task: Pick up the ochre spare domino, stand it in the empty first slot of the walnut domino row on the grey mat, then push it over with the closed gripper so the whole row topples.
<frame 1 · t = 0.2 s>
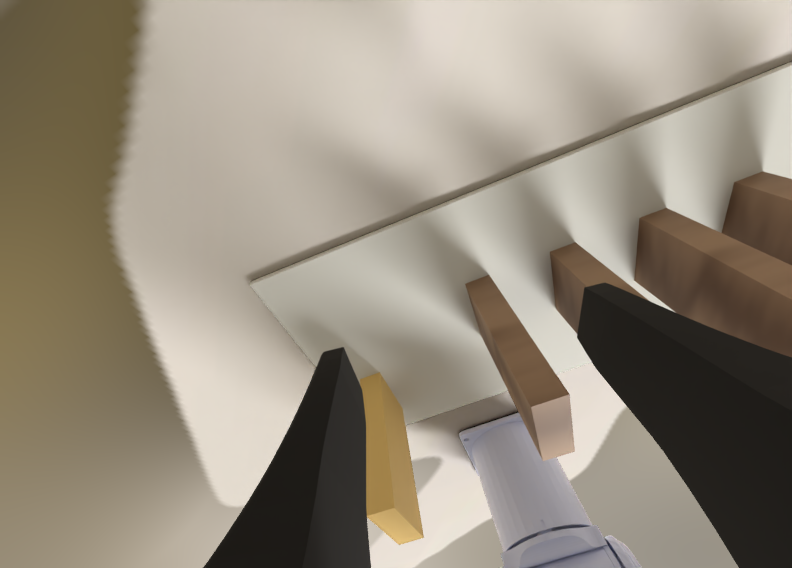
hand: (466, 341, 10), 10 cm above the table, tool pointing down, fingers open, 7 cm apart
domino 4: (649, 246, 21), resting on mat
mat: (541, 293, 23), on the table
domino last: (738, 214, 20), resting on mat
domino 2: (484, 307, 22), resting on mat
domino 3: (564, 277, 22), resting on mat
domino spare: (382, 394, 26), resting on mat
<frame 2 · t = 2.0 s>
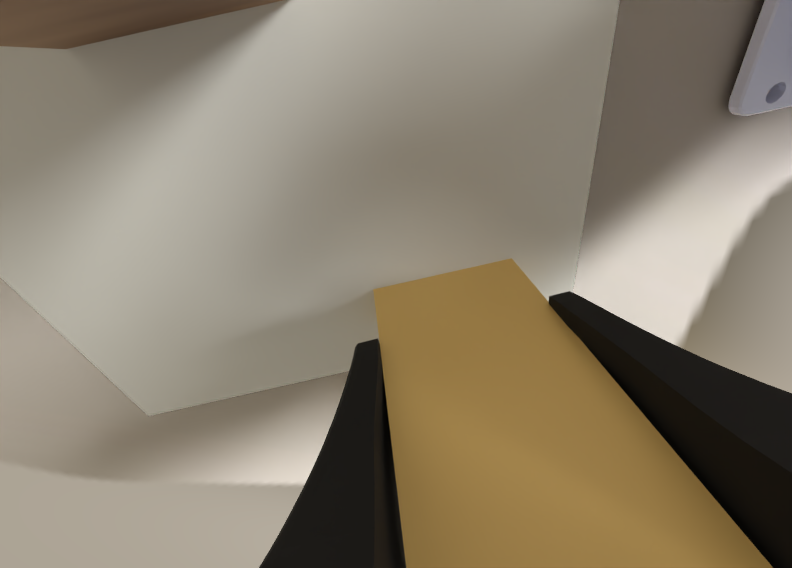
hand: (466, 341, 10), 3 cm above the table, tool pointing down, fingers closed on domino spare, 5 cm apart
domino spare: (444, 291, 12), resting on mat, touching gripper
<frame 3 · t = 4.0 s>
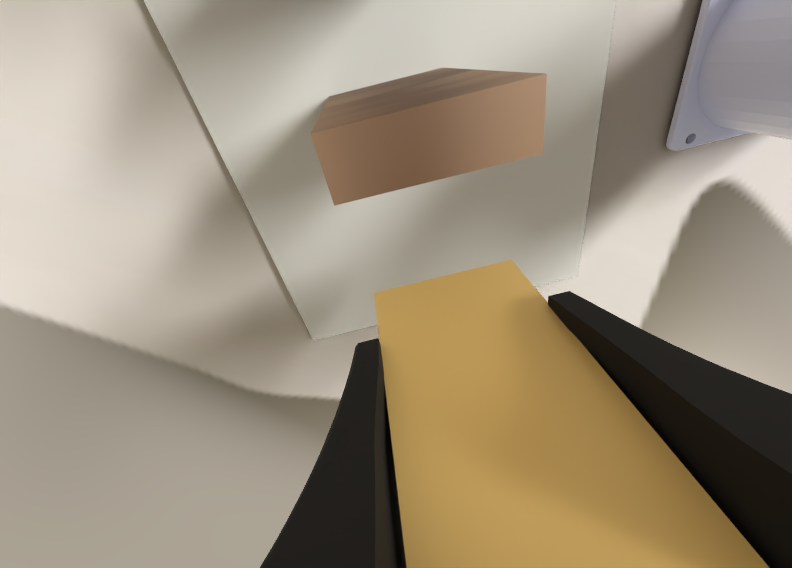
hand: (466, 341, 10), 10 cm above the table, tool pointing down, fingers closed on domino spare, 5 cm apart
domino 2: (389, 102, 15), resting on mat
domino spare: (445, 293, 12), point 7 cm above the table, touching gripper
when the fingers open (4 cm above the table, at t = 6.0 s): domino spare stays where it is, resting on mat.
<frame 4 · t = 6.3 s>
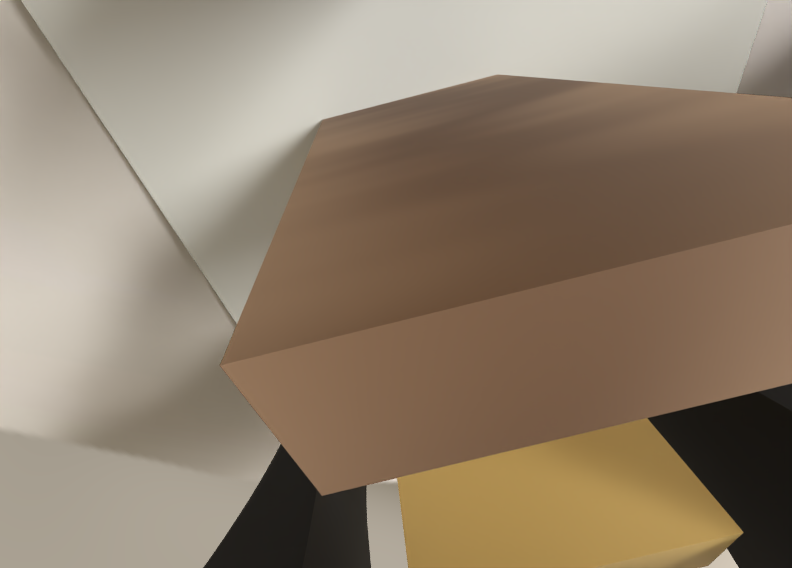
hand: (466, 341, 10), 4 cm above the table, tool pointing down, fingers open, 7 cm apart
domino 2: (414, 127, 10), resting on mat
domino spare: (440, 281, 13), resting on mat
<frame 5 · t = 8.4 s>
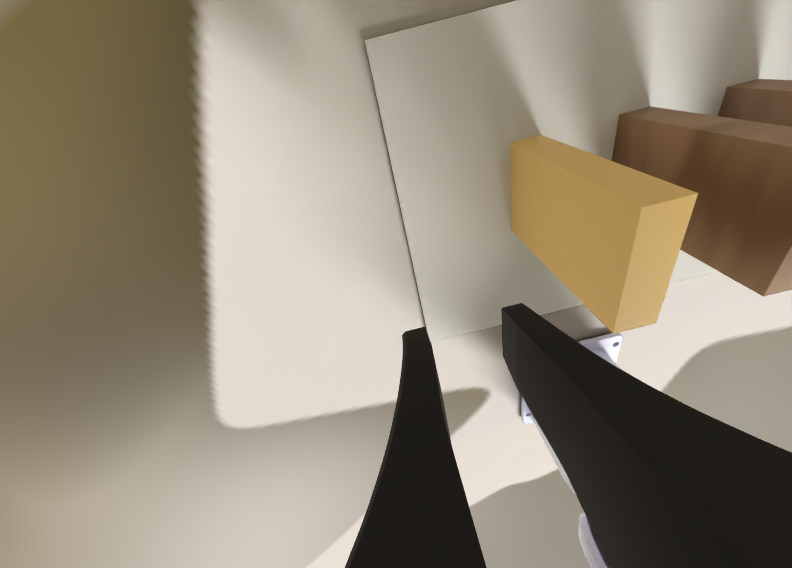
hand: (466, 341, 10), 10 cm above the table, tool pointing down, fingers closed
mat: (685, 159, 19), on the table
domino 2: (625, 160, 18), resting on mat
domino 3: (724, 135, 18), resting on mat
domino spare: (525, 186, 18), resting on mat
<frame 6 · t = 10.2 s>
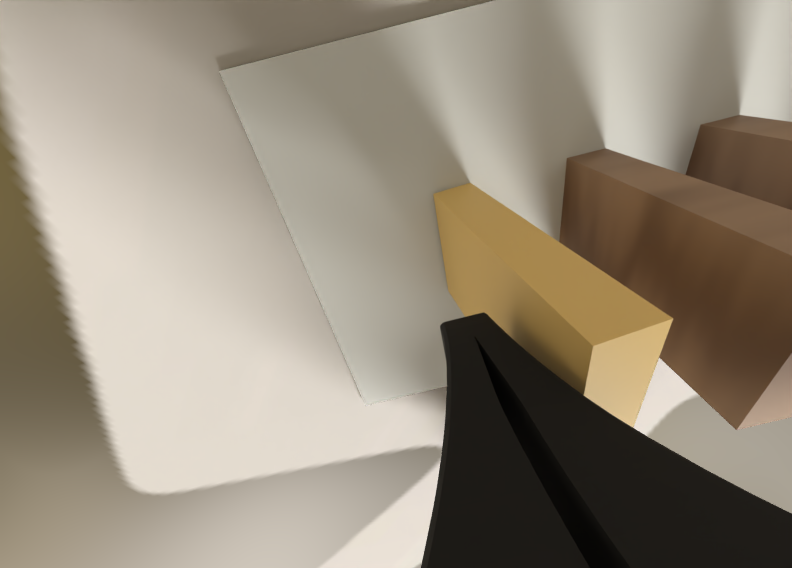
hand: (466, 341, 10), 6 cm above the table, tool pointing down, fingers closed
mat: (654, 206, 16), on the table
domino 2: (579, 210, 15), resting on mat
domino 3: (699, 180, 15), resting on mat
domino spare: (458, 241, 15), resting on mat, tilted 6°, touching gripper
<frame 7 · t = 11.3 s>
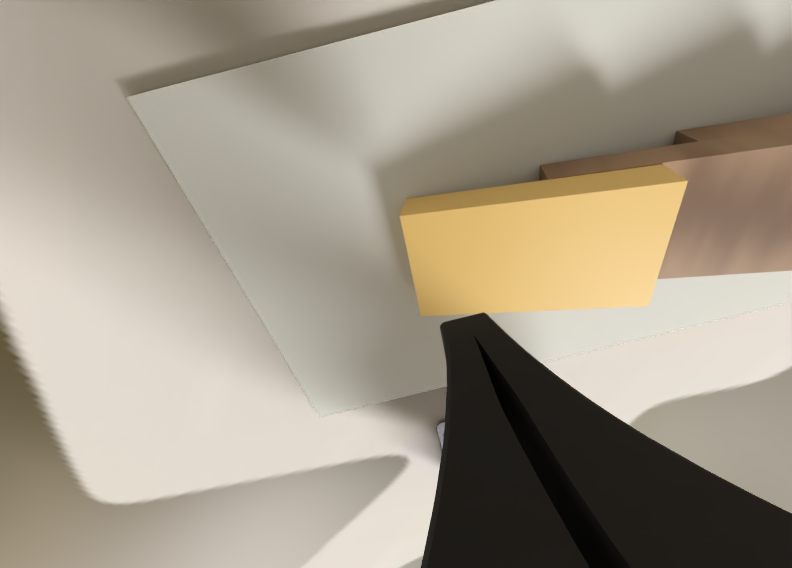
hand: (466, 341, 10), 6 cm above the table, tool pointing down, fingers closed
mat: (591, 221, 16), on the table
domino 2: (540, 229, 14), point 1 cm above the table, tilted 73°, touching domino 3, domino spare, mat
domino 3: (669, 197, 14), point 1 cm above the table, tilted 73°, touching domino 2, domino 4, mat
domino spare: (413, 260, 14), point 1 cm above the table, tilted 73°, touching domino 2, mat
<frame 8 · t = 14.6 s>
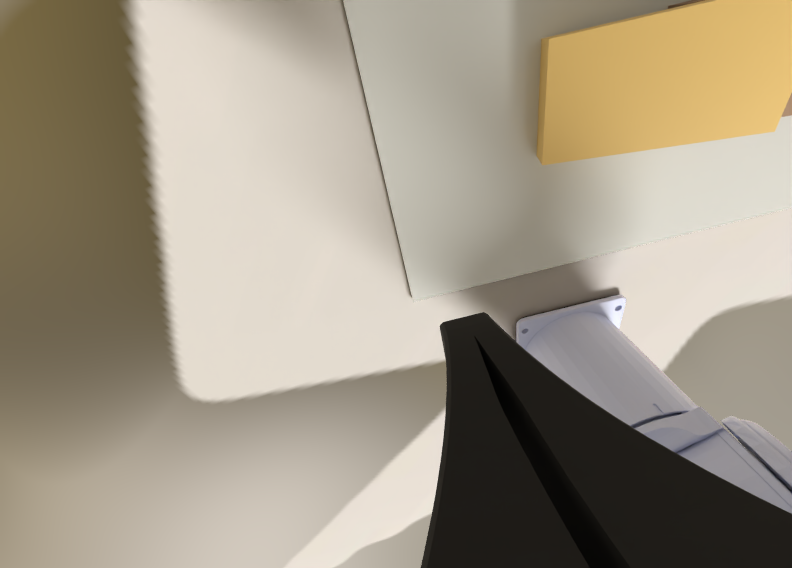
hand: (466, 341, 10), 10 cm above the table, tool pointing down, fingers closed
mat: (699, 81, 16), on the table
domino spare: (541, 105, 15), point 1 cm above the table, tilted 73°, touching domino 2, mat
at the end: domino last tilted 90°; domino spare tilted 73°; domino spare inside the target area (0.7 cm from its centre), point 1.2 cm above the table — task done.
